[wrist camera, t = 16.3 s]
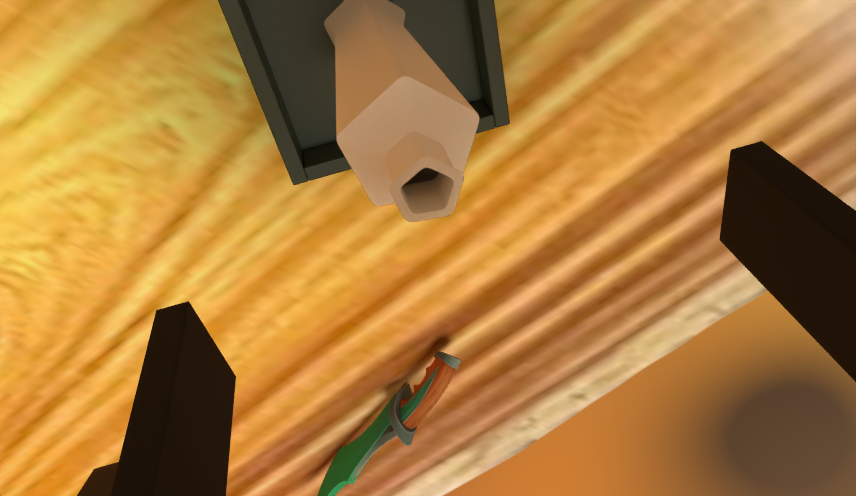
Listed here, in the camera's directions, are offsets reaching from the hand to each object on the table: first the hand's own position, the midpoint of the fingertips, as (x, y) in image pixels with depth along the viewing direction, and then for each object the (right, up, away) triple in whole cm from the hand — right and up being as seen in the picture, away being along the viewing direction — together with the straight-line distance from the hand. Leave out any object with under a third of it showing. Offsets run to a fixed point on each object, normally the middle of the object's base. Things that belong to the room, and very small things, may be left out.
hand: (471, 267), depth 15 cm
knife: (-6, -12, +33) cm, 35 cm away
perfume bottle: (-4, +11, +15) cm, 19 cm away
